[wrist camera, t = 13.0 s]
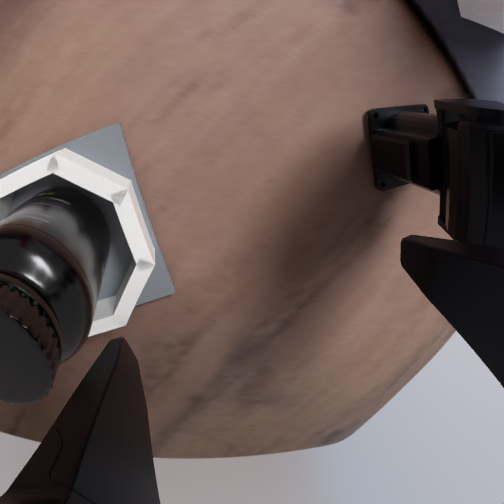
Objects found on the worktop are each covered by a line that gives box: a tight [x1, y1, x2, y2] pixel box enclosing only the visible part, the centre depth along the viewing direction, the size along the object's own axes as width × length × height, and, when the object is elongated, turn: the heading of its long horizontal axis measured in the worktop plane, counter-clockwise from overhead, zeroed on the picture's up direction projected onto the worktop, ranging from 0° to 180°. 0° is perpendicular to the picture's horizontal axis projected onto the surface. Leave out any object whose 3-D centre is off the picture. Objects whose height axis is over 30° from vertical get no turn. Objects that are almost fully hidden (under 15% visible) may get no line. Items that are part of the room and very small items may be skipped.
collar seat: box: [0, 122, 176, 337], centre depth 17 cm, size 12×12×3 cm
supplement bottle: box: [0, 188, 110, 405], centre depth 13 cm, size 7×7×12 cm
